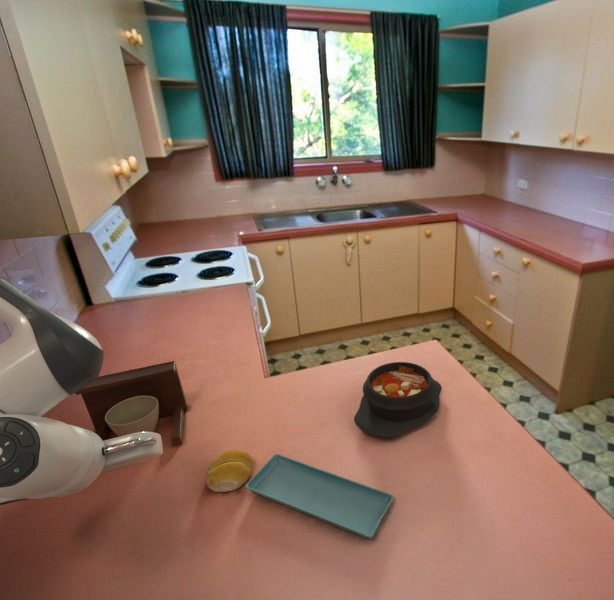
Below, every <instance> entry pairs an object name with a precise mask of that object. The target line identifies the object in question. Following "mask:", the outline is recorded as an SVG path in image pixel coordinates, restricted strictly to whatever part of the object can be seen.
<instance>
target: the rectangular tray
mask: <svg viewBox="0 0 614 600" xmlns="http://www.w3.org/2000/svg"><path fill="white" fill-rule="evenodd" d="M244 487H245V489H247V490H249V492H251V493H253V494H255V495H258V496H260V497H263V498H264V499H267V500H270V501H272V502H275V503H277V504H279V505H282V506H284V507H286V508H289V509H292V510H294V511H296V512H299V513H301V514H304V515H306V516H309V517H312V518H313V519H316V520H319V521H321V522H324V523H326V524H328V525H331V526H333V527H336V528H338V529H341V530H344V531H346V532H348V533H351V534H353V535H356V536H359V537H361V538H364V539H366V540H371V538H373V536H374V535H375V534H376V531H377V529H378V528H379V525H380V523H381V521H382V520H383V517H384V515H385V514H386V512H387V511H388V508H389V507H390V505H391V504H392V502H393V500H394V498H395V497H394V494H392V493H389V492H386V491H383V490H380V489H377V488H376V487H372V486H369V485H366V484H364V483H360V482H358V481H355V480H353V479H349V478H346V477H344V476H341V475H338V474H336V473H332V472H330V471H327V470H324V469H322V468H318V467H315V466H313V465H310V464H307V463H304V462H301V461H299V460H296V459H293V458H291V457H288V456H285V455H282V454H280V453H274V454H273V455H272V456H271V457H270V459H269V460H268V461H267V462H266V463H265V464H264V465H263V466H262V467H261V468H260V469H259V470H258V472H257V473H256V474H255V475H254V476H252V477H251V479H250V480H249V481H248V482H247V483H246V484H245V485H244Z"/></svg>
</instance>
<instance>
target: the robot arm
mask: <svg viewBox="0 0 614 600" xmlns="http://www.w3.org/2000/svg"><path fill="white" fill-rule="evenodd" d="M0 321H2V322H4V323H5V324H7V325H8V326H10V327H11V328H12V334H11V336H9V338H8V339H7V340H5V341H4V342H2V343H0V506H5V505H8V504H12V503H17V502H21V501H22V502H23V501H27V500H30V499H32V500H33V499H34V500H35V499H40V500H41V499H48V498H62V497H63V498H64V497H68V496H72V495H75V494H77V493H79V492H81V491H83V490H85V489H86V488H88V487H89V486H90V485H92V483H94V482H95V481H96V479H97V478H98V477H99V476H100V474H103V473H107V472H111V471H115V470H118V469H122V468H126V467H129V466H132V465H136V464H140V463H144V462H147V461H150V460H154V459H157V458H159V457H161V456H162V455H163V453H164V451H163V440H162V436H161V434H160V433H157V432H155V431H154V432H137V433H132V434H128V435H124V436H120V437H119V436H117V437H113V438H109V439H106V440H104V441H102V439H101V438H100V437H99V436H98V435H97V434H96V432H94V431H93V430H90V429H87V428H83V427H80V426H76V425H75V424H68V423H66V422H64V421H61V420H57V419H54V418H50V417H45V416H44V415H45V414H46V413H48V412H49V411H50V410H52V409H53V408H55V407H56V406H57V405H59V404H60V403H61V402H63V401H64V400H65V399H67V398H68V397H69V396H72V395H74V394H75V393H76V392H77V391H79V390H80V389H82V388H84V387H85V386H87V385H88V384H90V383H91V382H93V381H95V380H96V379H98V377H99V376H100V374H101V371H102V368H103V364H104V360H105V359H104V358H105V350H104V349H103V348H102V346H101V344H100V343H99V341H98V340H97V339H96V337H95V336H94V335H93V334H92V333H90V332H89V331H88V330H86V329H85V328H83V327H82V326H81V325H79V324H77V323H75V322H73V321H71V320H70V319H67V318H65V317H62V316H60V315H58V314H56V313H54V312H51V311H50V310H48V309H47V308H45V307H44V306H42V305H40V304H39V303H37V301H36V300H34V299H33V298H31V297H30V296H28V295H27V294H26V293H24V292H22V291H21V290H20V289H18V288H16V287H15V286H14V285H12V284H10V283H9V282H8V281H6V280H5V279H3V278H1V277H0Z"/></svg>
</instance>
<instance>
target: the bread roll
mask: <svg viewBox="0 0 614 600" xmlns="http://www.w3.org/2000/svg"><path fill="white" fill-rule="evenodd" d="M253 466H254V458H253V456H251V454H249V453H248V452H247V451H245V450H242V449H230V450H226V451H224V452H223V453H221V454H219V455H218V456H217V457H216V458H214V460H213V461H212V462H211V464H210V466H209V467H208V470H207V473H206V477H205V480H206V486H207V488H208V489H209V490H211V491H213V492H215V493H226V492H231V491H235V490H237V489H239V488H240V487H242V486H243V485H244V484H245V483H246V482H247V481H248V479H249V478H250V475H251V473H252V472H251V471H252V468H253Z"/></svg>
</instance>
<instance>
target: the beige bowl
mask: <svg viewBox="0 0 614 600" xmlns="http://www.w3.org/2000/svg"><path fill="white" fill-rule="evenodd" d="M158 415H159V404H158V400H157V399H156V398H155V397H152V396H137V397H132V398H129V399H126V400H124V401H121V402H119V403H118V404H116V405H114V406H113V407H112V408H111V409H110V410H109V411H108V412H107V413H106V415H105V421H106V423H107V424H108V426H109V427H110V428H111V431H112V432H113V433H114V434H115V435H116V436H117V437H120V436H124V435H128V434H132V433H137V432H154V433H155V430H156V427H157V424H158V420H159V418H158Z"/></svg>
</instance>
